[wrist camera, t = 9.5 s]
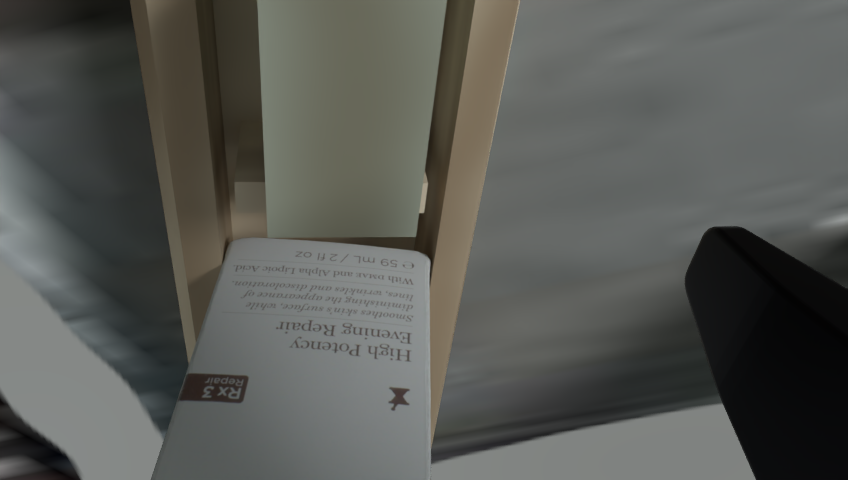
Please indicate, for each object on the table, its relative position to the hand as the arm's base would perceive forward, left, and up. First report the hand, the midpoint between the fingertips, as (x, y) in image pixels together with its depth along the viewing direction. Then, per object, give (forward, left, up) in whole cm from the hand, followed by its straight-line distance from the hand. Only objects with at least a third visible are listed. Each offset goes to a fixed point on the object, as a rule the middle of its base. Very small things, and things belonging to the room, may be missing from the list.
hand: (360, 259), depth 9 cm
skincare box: (0, +10, -10) cm, 14 cm away
